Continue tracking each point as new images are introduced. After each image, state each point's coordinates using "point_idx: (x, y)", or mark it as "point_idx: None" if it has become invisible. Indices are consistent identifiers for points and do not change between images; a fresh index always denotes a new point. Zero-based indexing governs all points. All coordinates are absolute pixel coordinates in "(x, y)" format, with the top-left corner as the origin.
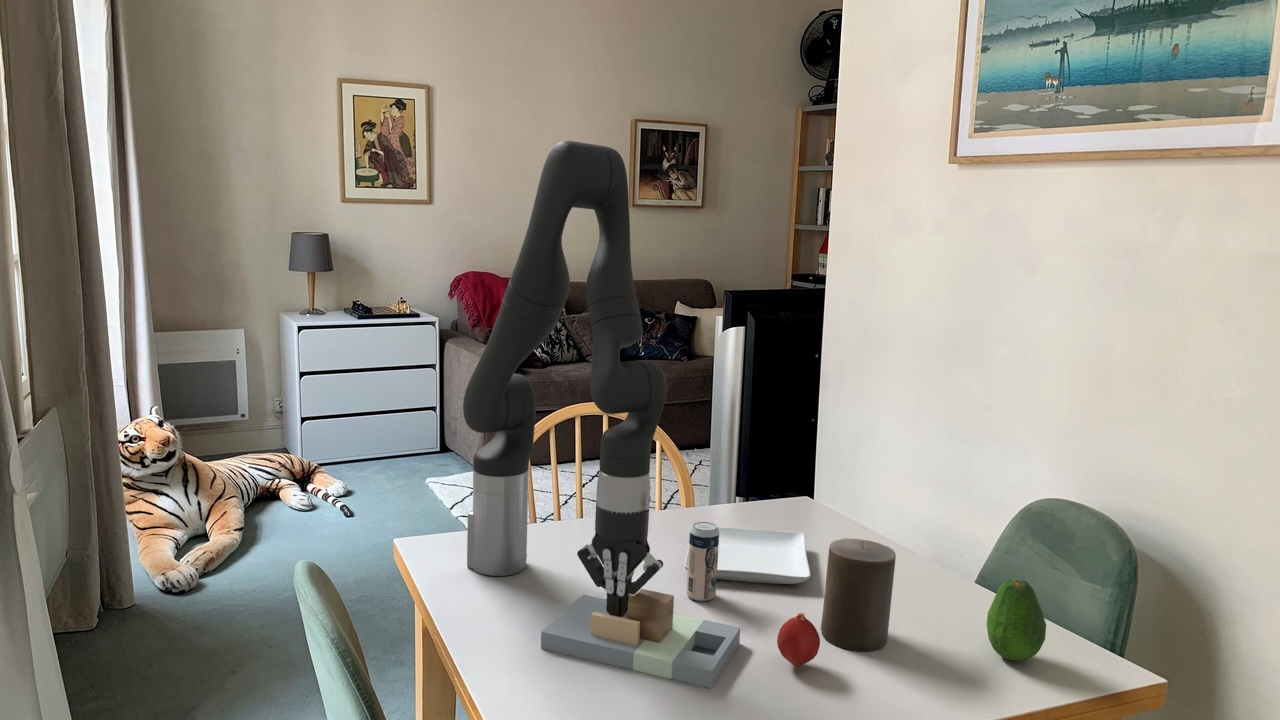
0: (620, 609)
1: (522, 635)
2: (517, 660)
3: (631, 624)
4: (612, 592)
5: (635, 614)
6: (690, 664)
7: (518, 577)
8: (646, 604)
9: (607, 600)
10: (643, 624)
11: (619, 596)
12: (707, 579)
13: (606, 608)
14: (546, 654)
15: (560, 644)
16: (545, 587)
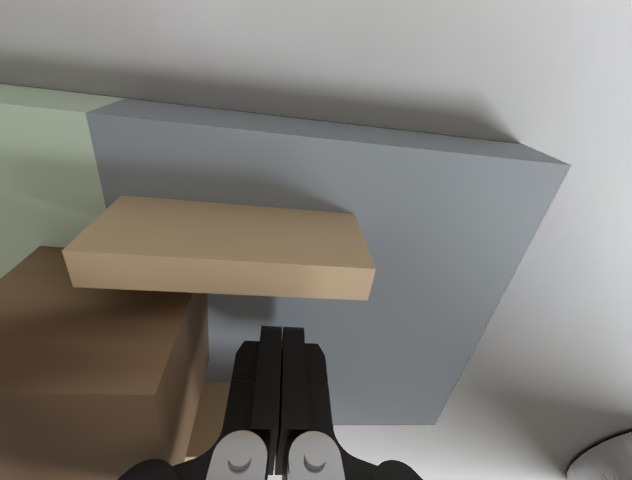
0: (254, 365)
1: (586, 209)
2: (619, 7)
3: (108, 248)
4: (295, 443)
5: (125, 333)
6: None
7: (583, 439)
8: (20, 406)
9: (324, 394)
10: (92, 296)
11: (250, 427)
12: None
13: (324, 359)
14: (497, 106)
15: (462, 143)
16: (520, 427)
